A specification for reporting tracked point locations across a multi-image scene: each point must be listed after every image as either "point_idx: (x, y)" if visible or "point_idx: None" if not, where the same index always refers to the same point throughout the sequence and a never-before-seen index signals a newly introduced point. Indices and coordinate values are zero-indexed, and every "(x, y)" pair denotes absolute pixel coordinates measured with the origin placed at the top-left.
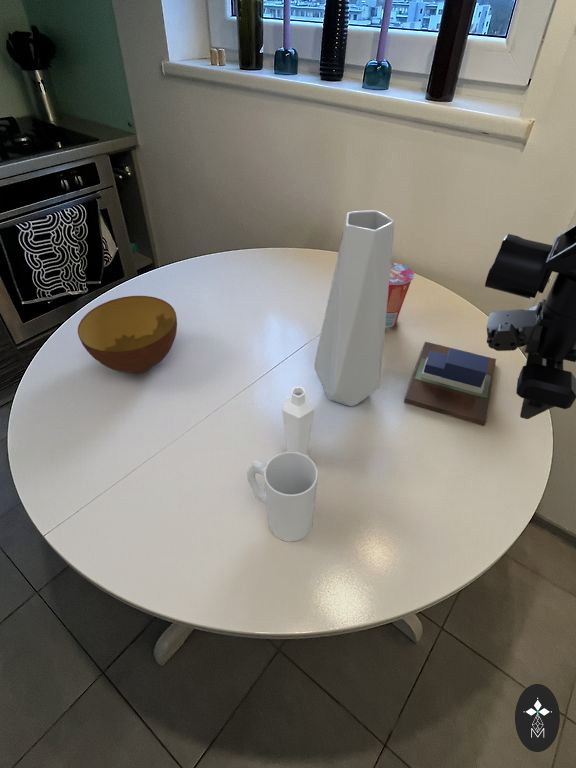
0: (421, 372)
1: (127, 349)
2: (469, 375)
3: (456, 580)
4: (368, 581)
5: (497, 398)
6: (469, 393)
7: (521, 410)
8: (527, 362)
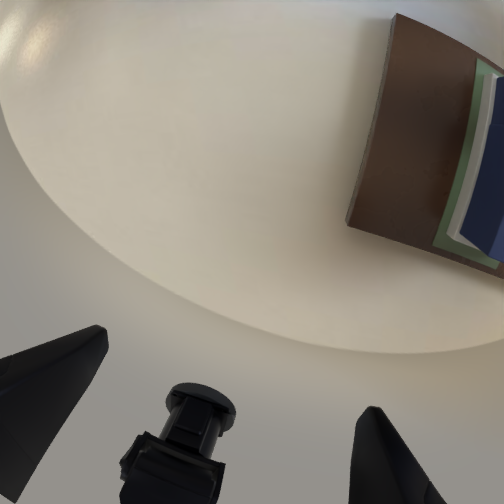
0: None
1: None
2: (490, 202)
3: (20, 149)
4: (12, 53)
5: (438, 272)
6: (447, 200)
7: (56, 339)
8: (388, 468)
